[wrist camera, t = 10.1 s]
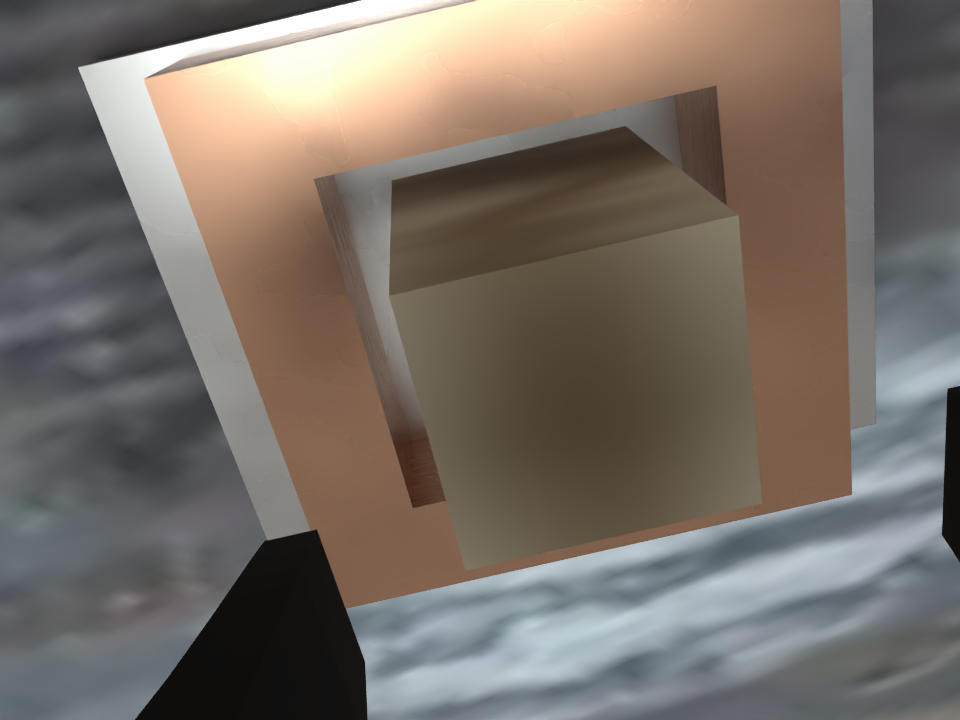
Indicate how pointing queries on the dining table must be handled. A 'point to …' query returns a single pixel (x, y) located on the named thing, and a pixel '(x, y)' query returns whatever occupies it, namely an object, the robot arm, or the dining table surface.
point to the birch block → (575, 344)
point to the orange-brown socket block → (466, 138)
